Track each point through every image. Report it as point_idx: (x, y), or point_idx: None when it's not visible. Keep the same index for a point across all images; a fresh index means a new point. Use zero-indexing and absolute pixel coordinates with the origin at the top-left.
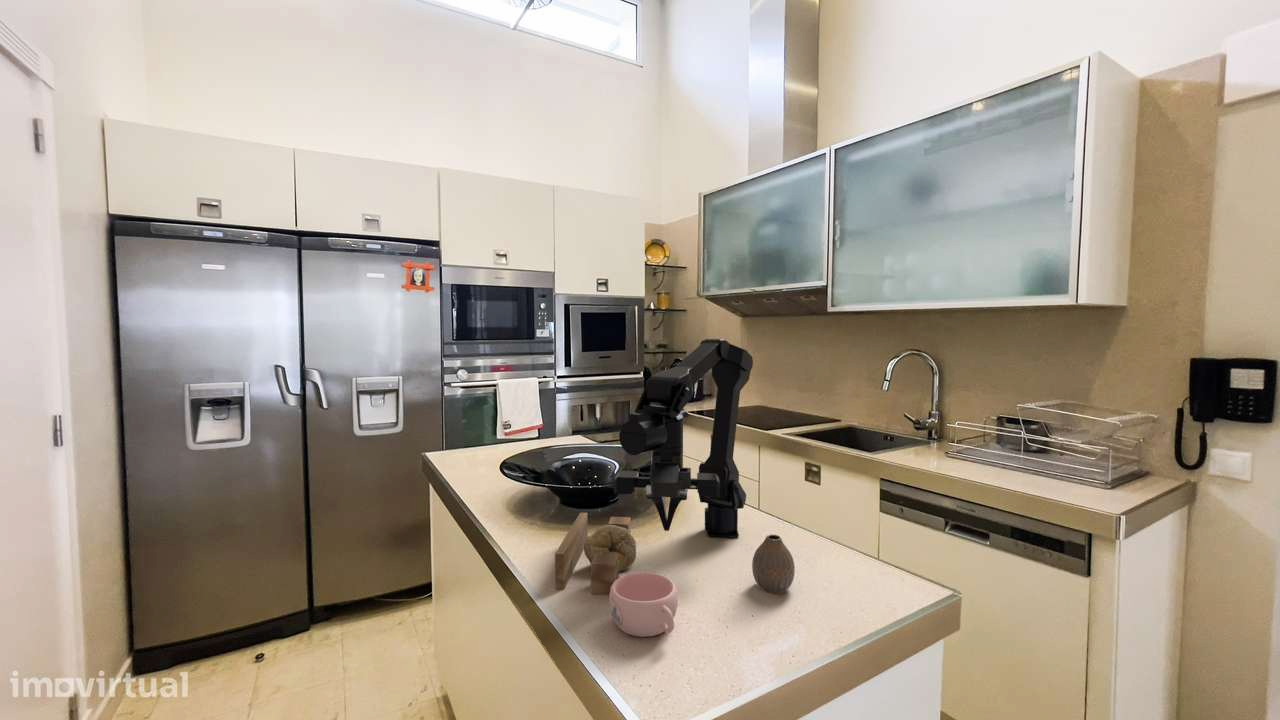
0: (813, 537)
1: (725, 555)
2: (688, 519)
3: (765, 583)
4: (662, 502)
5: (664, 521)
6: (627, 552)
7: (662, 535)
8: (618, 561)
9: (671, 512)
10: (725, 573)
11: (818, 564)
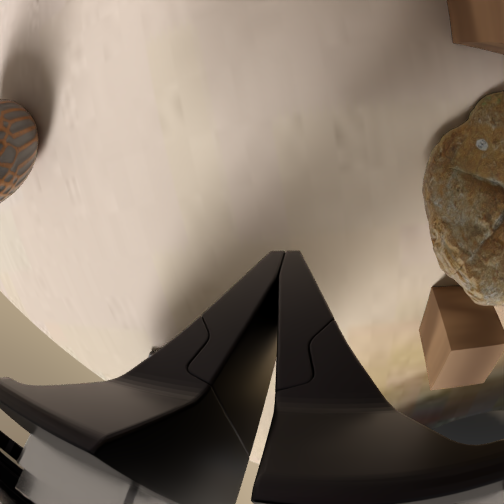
0: (55, 340)
1: (145, 277)
2: None
3: (1, 99)
4: (280, 419)
5: (291, 281)
6: (460, 191)
7: None
8: (493, 41)
9: (213, 330)
10: (114, 175)
11: (10, 254)
